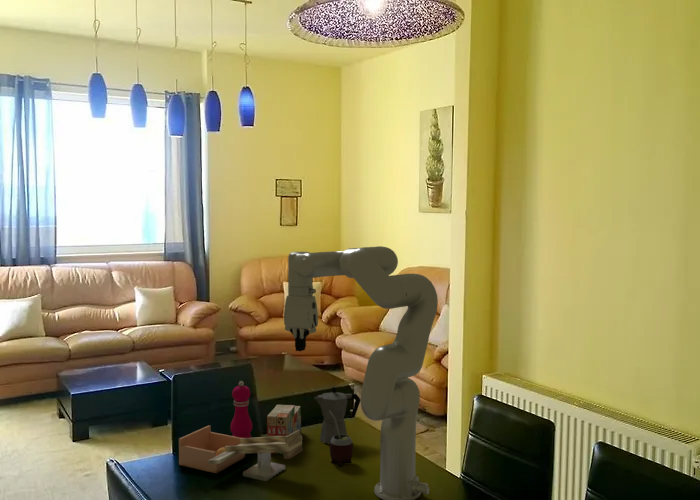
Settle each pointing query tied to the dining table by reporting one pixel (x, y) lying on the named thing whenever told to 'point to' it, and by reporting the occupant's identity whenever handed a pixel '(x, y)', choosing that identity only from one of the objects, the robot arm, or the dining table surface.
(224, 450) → the ball
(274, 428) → the stack of blocks
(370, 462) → the dining table surface
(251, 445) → the tray
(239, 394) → the pepper mill
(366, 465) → the dining table surface
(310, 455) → the dining table surface
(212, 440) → the pink open box
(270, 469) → the pivot stand
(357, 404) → the coffeepot
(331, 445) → the mate gourd
